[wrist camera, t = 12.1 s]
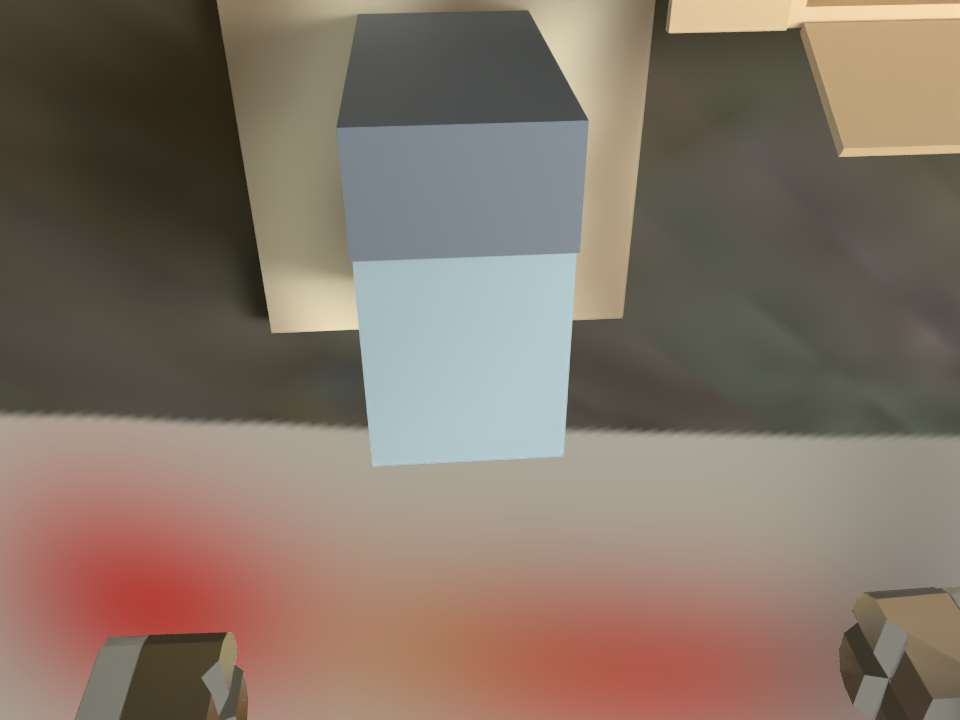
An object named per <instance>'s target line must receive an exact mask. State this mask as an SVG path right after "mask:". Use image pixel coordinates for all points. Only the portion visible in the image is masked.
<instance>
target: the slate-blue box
mask: <svg viewBox="0 0 960 720" xmlns="http://www.w3.org/2000/svg"><path fill="white" fill-rule="evenodd" d="M588 125H589V120H588V118H587V116H586V114H585V113H584V111H583V109H582V107H581V105H580V103H579V102H578V100H577V98H576V96H575V94H574V93H573V91H572V89H571V87H570V85H569V83H568V82H567V80H566V78H565V76H564V74H563V72H562V71H561V69H560V67H559V65H558V63H557V61H556V60H555V58H554V56H553V54H552V52H551V50H550V49H549V47H548V45H547V43H546V41H545V40H544V38H543V36H542V34H541V32H540V30H539V29H538V27H537V25H536V23H535V21H534V19H533V18H532V16H531V14H530V12H529V10H520V11H474V12H427V13H380V14H358V16H357V21H356V26H355V32H354V37H353V42H352V47H351V53H350V58H349V63H348V69H347V74H346V79H345V84H344V90H343V95H342V100H341V106H340V111H339V116H338V121H337V127H336V130H337V140H338V150H339V160H340V170H341V180H342V190H343V200H344V210H345V220H346V230H347V240H348V250H349V260H350V262H352V263H353V273H354V283H355V294H356V304H357V314H358V324H359V334H360V345H361V355H362V365H363V375H364V385H365V396H366V406H367V416H368V426H369V436H370V447H371V457H372V466H389V465H408V464H426V463H445V462H464V461H484V460H503V459H520V458H521V459H522V458H540V457H559V456H563V455H564V440H565V425H566V410H567V395H568V379H569V364H570V349H571V334H572V318H573V303H574V288H575V272H576V257H577V253H580V244H581V229H582V214H583V199H584V184H585V169H586V155H587V140H588Z"/></svg>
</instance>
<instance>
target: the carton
mask: <svg viewBox="0 0 960 720" xmlns="http://www.w3.org/2000/svg"><path fill="white" fill-rule="evenodd" d="M787 28H802V29H801V31H800V35H801V38H802V41H803V44H804V48H805V51H806V54H807V57H808V60H809V63H810V67H811V70H812V73H813V76H814V79H815V83H816V86H817V89H818V92H819V95H820V99H821V102H822V105H823V108H824V111H825V115H826V118H827V121H828V124H829V127H830V131H831V134H832V137H833V140H834V143H835V147H836V150H837V153H838V156H839V157H851V156H883V155H914V154H945V153H960V0H669V4H668V13H667V22H666V31H667V32H668V33H701V32H745V31H786V30H787Z"/></svg>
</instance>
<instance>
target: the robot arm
mask: <svg viewBox="0 0 960 720" xmlns="http://www.w3.org/2000/svg"><path fill="white" fill-rule="evenodd" d="M852 613H853V615H854V616H855V618H856V620H857V622H858V623H857V624H855V625H854V626H853V627H851V628H850V629H849V630H848V631H846V632H845V633H844V634H843V638H842V641H841V645H840V648H839V663H840V672H841V676H842V680H843V683H844V687H845V689H846V691H847V693H848V696H849V698H850V700H851V702H852V704H853V706H855V707H856V708H857V709H858V710H860V711H861V712H862V713H864V714H865V715H866V716H868V717H869V718H870V719H871V720H960V587H945V588H934V587H931V588H917V589H903V590H890V591H877V592H864V593H863V594H861V595H860V596H859V597H858V598H857V599H856V602H855V604H854V607H853V610H852ZM237 649H238V648H237V645H236V642H235V639H234V636H233V633H232V632H227V633H226V632H224V633H196V634H195V633H193V634H165V635H164V634H163V635H139V636H120V637H108V639H107V640H106V642H105V643H104V644H103V646H102V647H101V649H100V650H99V652H98V655H97V658H96V661H95V664H94V666H93V669H92V672H91V675H90V677H89V680H88V683H87V686H86V689H85V691H84V694H83V697H82V700H81V703H80V705H79V708H78V711H77V714H76V717H75V719H74V720H247V714H248V694H247V683H246V679H245V675H244V671H243V670H241V669H240V668H238V667H237V666H236V665H235V660H236V655H237Z"/></svg>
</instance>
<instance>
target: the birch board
mask: <svg viewBox="0 0 960 720" xmlns="http://www.w3.org/2000/svg"><path fill="white" fill-rule="evenodd" d="M217 5H218V12H219V18H220V24H221V30H222V36H223V42H224V48H225V54H226V60H227V66H228V72H229V78H230V84H231V90H232V96H233V102H234V108H235V114H236V120H237V126H238V132H239V139H240V145H241V151H242V157H243V163H244V169H245V175H246V181H247V187H248V193H249V199H250V205H251V211H252V217H253V223H254V229H255V235H256V241H257V247H258V253H259V260H260V266H261V272H262V278H263V284H264V290H265V296H266V302H267V308H268V314H269V320H270V326H271V332H272V333H286V332H309V331H332V330H355V329H359V324H358V314H357V304H356V294H355V283H354V273H353V263H352V262H350V260H349V250H348V240H347V230H346V220H345V210H344V200H343V190H342V180H341V170H340V160H339V150H338V140H337V130H336V127H337V121H338V116H339V111H340V106H341V100H342V95H343V90H344V84H345V79H346V74H347V69H348V63H349V58H350V53H351V47H352V42H353V37H354V32H355V26H356V21H357V16H358V14H380V13H427V12H474V11H520V10H529V12H530V14H531V16H532V18H533V19H534V21H535V23H536V25H537V27H538V29H539V30H540V32H541V34H542V36H543V38H544V40H545V41H546V43H547V45H548V47H549V49H550V50H551V52H552V54H553V56H554V58H555V60H556V61H557V63H558V65H559V67H560V69H561V71H562V72H563V74H564V76H565V78H566V80H567V82H568V83H569V85H570V87H571V89H572V91H573V93H574V94H575V96H576V98H577V100H578V102H579V103H580V105H581V107H582V109H583V111H584V113H585V114H586V116H587V118H588V120H589V125H588V140H587V155H586V169H585V184H584V199H583V214H582V229H581V244H580V253H577V257H576V272H575V288H574V303H573V318H572V320H588V319H612V318H623V309H624V300H625V290H626V280H627V271H628V261H629V251H630V242H631V232H632V222H633V213H634V203H635V193H636V184H637V174H638V164H639V155H640V145H641V135H642V126H643V116H644V107H645V97H646V87H647V78H648V68H649V58H650V49H651V39H652V29H653V20H654V10H655V0H217Z"/></svg>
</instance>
